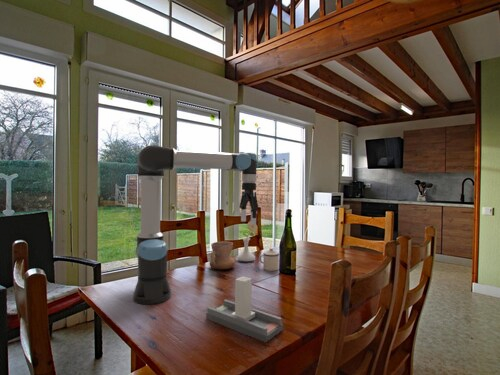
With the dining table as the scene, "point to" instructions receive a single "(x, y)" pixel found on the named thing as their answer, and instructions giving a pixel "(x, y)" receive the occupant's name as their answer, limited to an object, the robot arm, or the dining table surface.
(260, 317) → the switch base
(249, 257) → the flower in vase
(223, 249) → the ceramic jug
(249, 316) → the switch lever
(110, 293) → the dining table surface
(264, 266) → the beige enamel mug
